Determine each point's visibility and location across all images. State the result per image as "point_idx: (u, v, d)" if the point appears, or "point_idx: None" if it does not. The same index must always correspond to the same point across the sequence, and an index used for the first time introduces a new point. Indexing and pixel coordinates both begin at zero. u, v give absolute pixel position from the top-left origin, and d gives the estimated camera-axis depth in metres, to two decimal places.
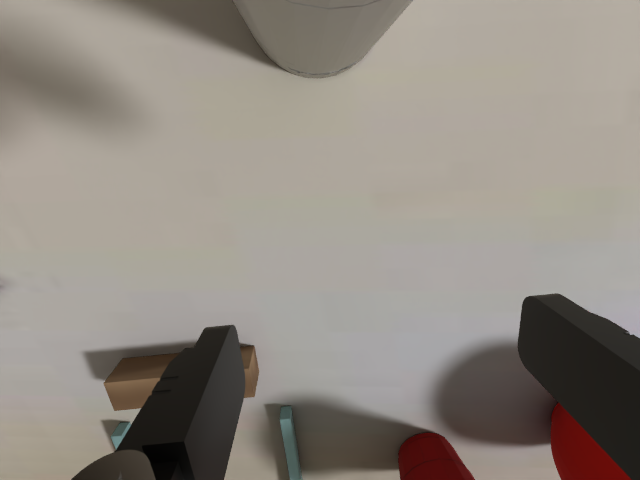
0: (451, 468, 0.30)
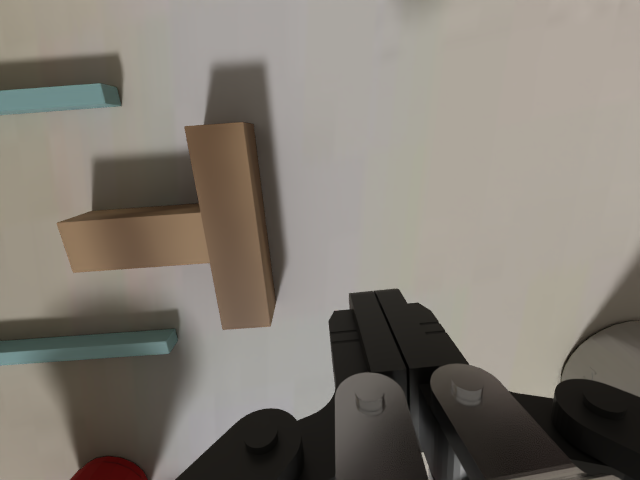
0: None
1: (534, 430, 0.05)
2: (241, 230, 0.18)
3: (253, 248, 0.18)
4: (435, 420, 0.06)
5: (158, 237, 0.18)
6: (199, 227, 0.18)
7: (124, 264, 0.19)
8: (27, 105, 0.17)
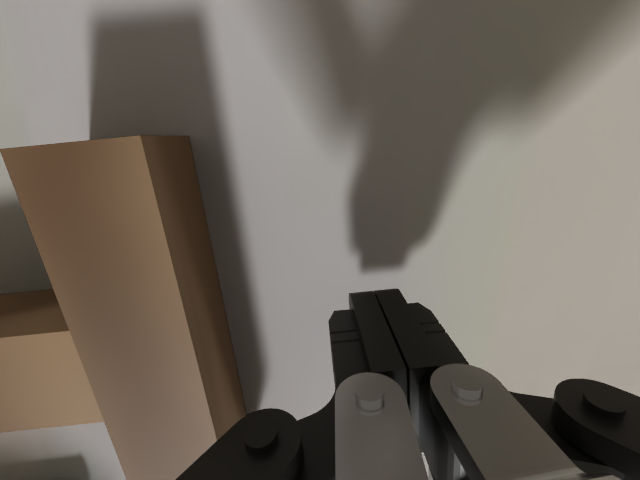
0: None
1: (534, 430, 0.05)
2: (162, 361, 0.09)
3: (191, 392, 0.09)
4: (435, 420, 0.06)
5: None
6: (72, 358, 0.09)
7: None
8: None
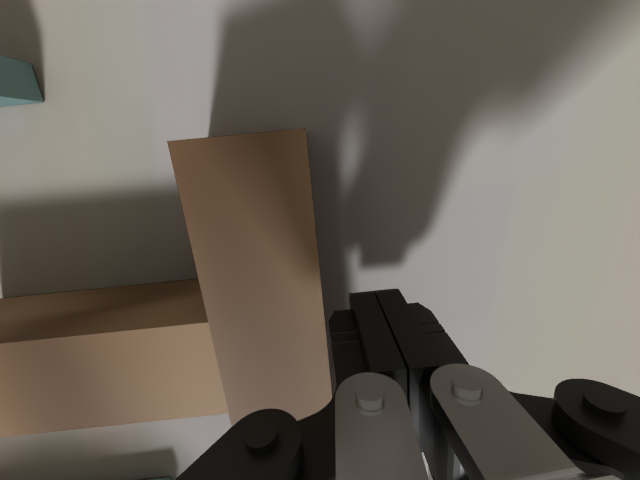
0: None
1: (534, 430, 0.05)
2: (294, 352, 0.09)
3: (317, 383, 0.09)
4: (435, 420, 0.06)
5: (120, 372, 0.09)
6: (206, 350, 0.09)
7: (53, 423, 0.09)
8: None
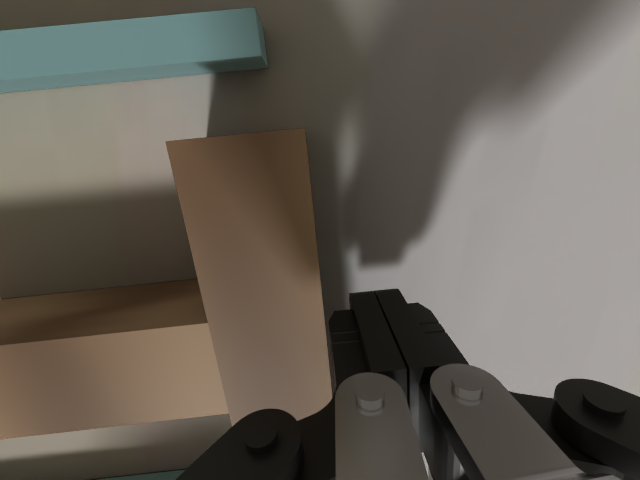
0: None
1: (534, 430, 0.05)
2: (294, 353, 0.09)
3: (317, 383, 0.09)
4: (435, 420, 0.06)
5: (120, 373, 0.09)
6: (206, 351, 0.09)
7: (52, 425, 0.09)
8: (86, 63, 0.08)
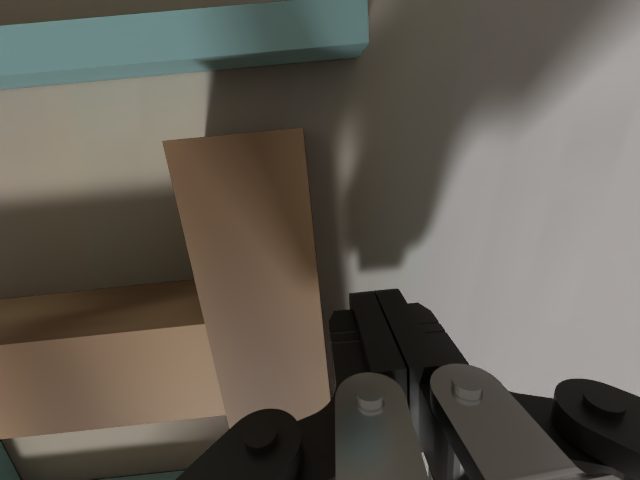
0: None
1: (534, 430, 0.05)
2: (291, 354, 0.09)
3: (315, 385, 0.09)
4: (435, 420, 0.06)
5: (116, 374, 0.09)
6: (202, 352, 0.09)
7: (48, 426, 0.09)
8: (194, 49, 0.08)
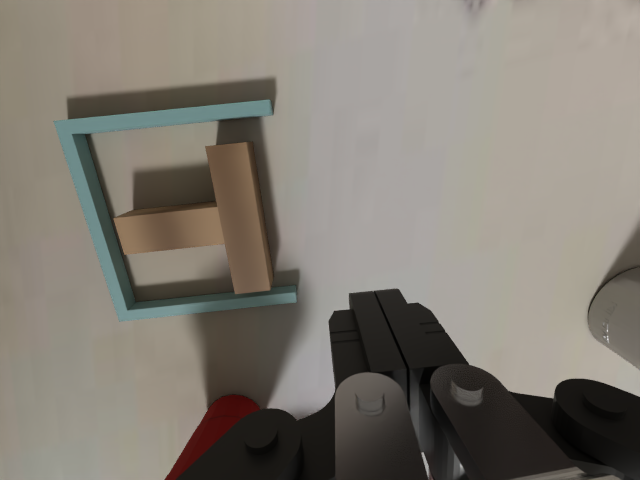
0: None
1: (534, 430, 0.05)
2: (247, 219, 0.25)
3: (256, 231, 0.26)
4: (435, 420, 0.06)
5: (187, 226, 0.25)
6: (216, 217, 0.25)
7: (162, 247, 0.26)
8: (215, 116, 0.24)
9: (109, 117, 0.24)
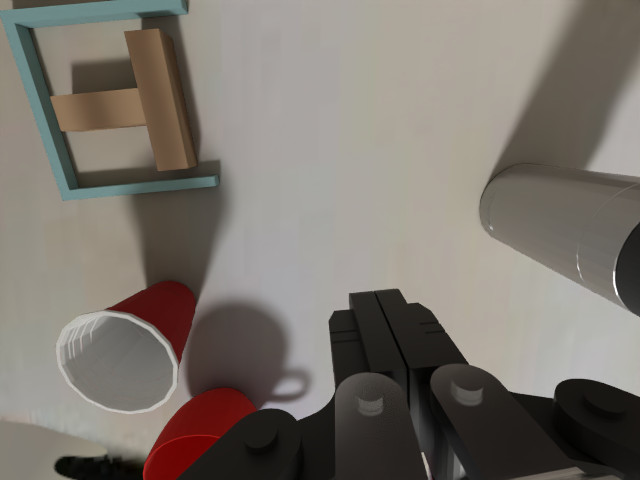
0: (190, 325, 0.35)
1: (534, 430, 0.05)
2: (163, 99, 0.30)
3: (172, 112, 0.30)
4: (435, 420, 0.06)
5: (113, 105, 0.30)
6: (137, 98, 0.30)
7: (92, 124, 0.30)
8: (135, 9, 0.29)
9: (45, 8, 0.29)
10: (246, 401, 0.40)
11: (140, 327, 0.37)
